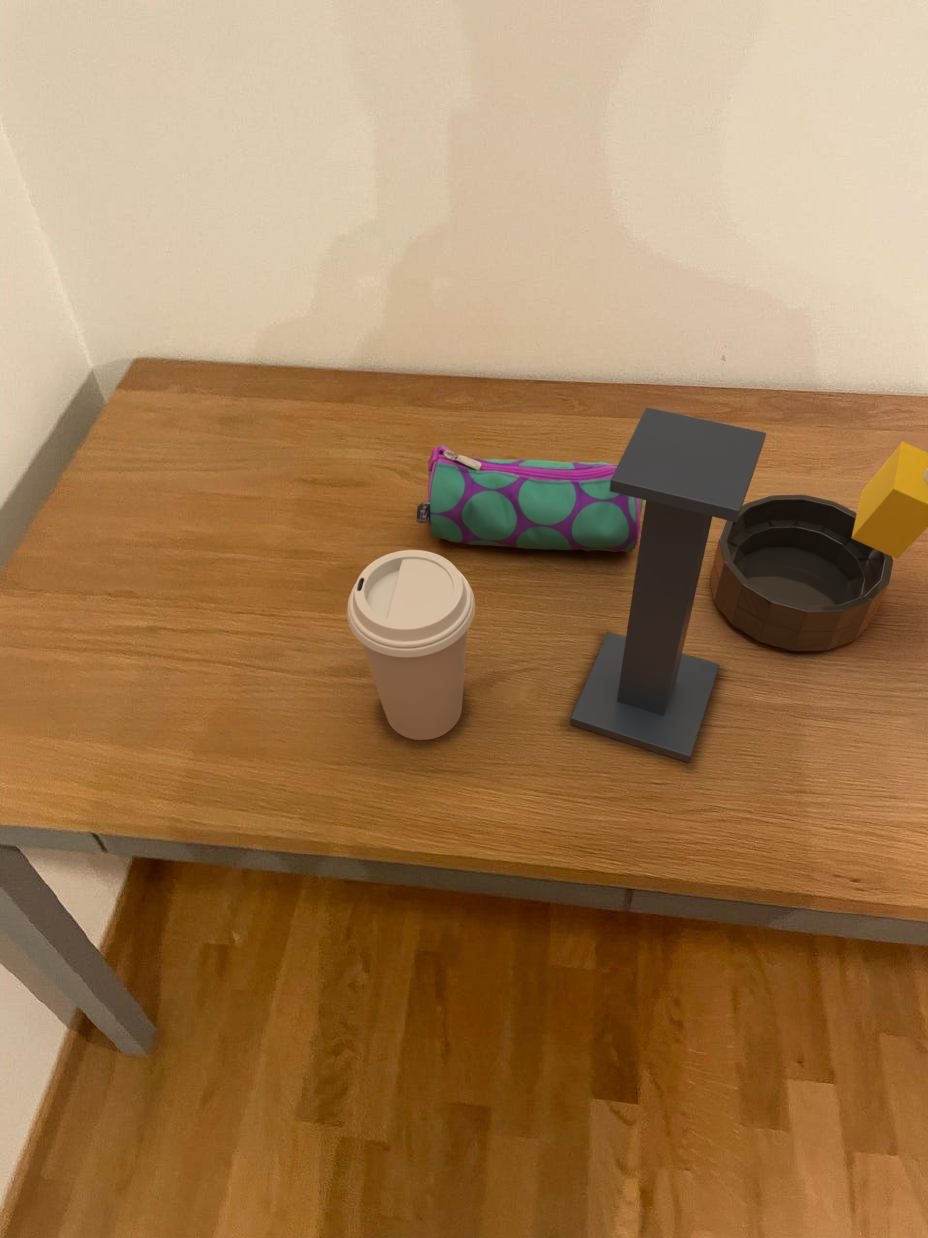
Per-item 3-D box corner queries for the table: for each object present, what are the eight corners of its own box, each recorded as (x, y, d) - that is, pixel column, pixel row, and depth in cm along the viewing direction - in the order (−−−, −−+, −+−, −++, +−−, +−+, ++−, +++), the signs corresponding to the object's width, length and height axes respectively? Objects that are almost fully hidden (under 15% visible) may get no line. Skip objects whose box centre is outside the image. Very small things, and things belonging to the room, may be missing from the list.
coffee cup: (406, 649, 83) (389, 526, 71) (500, 690, 79) (498, 568, 68) (345, 726, 77) (316, 607, 66) (442, 774, 74) (429, 657, 63)
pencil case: (420, 559, 90) (412, 483, 83) (434, 498, 96) (427, 422, 88) (636, 574, 88) (647, 497, 80) (637, 511, 93) (648, 434, 86)
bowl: (881, 563, 87) (901, 516, 83) (859, 676, 79) (880, 631, 74) (728, 525, 91) (740, 479, 87) (692, 629, 83) (702, 583, 78)
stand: (718, 671, 80) (785, 426, 60) (688, 763, 74) (752, 525, 54) (606, 638, 83) (636, 394, 63) (569, 724, 77) (589, 485, 57)
